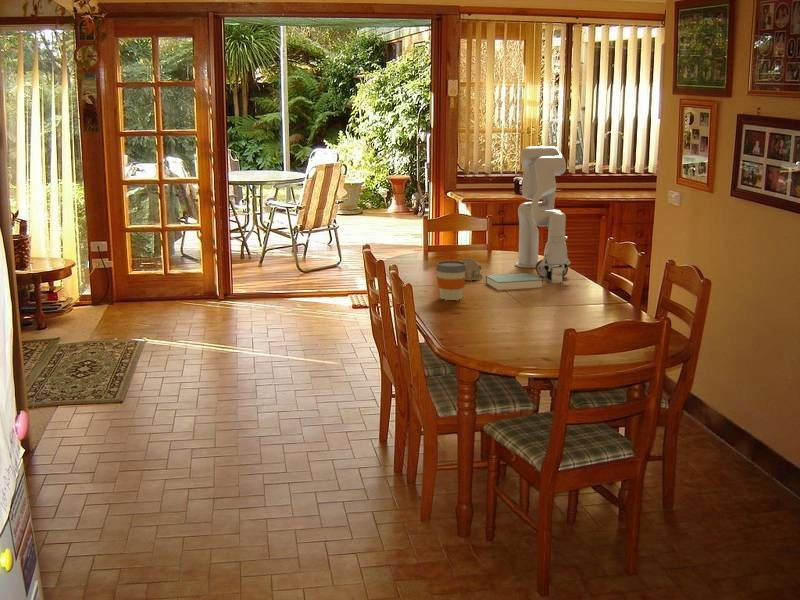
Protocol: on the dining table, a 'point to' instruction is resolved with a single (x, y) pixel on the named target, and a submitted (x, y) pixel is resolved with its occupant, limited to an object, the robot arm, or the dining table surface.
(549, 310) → the dining table surface
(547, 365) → the dining table surface
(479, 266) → the ceramic model
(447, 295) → the reusable coffee cup
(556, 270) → the block
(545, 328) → the dining table surface
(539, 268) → the tin
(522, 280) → the book
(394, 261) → the dining table surface
